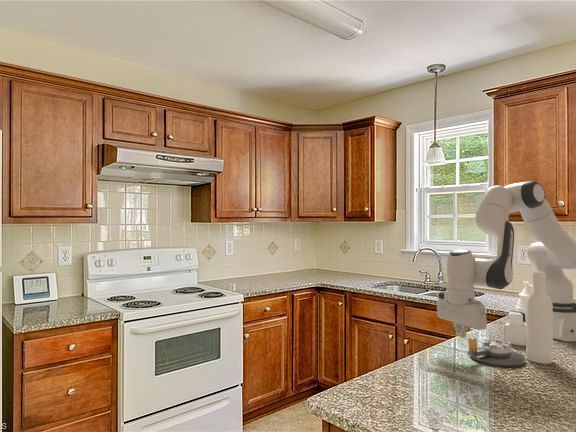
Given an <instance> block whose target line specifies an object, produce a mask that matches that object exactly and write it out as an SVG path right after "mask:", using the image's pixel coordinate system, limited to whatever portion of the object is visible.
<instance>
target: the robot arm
mask: <svg viewBox="0 0 576 432" xmlns="http://www.w3.org/2000/svg"><path fill="white" fill-rule="evenodd" d="M518 212H519V213H520V215H521V218H522V220H523V221H524V224H525V226H526V228H527V229H528V232H529V233H530V236H531V237H532V238H534V239H535V240H536V241H535V242H532V243H531V244H530V245H529V246H528V248H527V251H526V254H527V258H528V259H529V261H530V262H531V264H533V265H534V268H536V270H537V271H536V272H545V276H546V278H545V293H546V294H547V295H548V296H549V297H550V298H551V301H552V304H553V340H554V339H555V340H559V341H563V342H576V302H574V285H573V284H574V283H573V282H572V281H571V280H570V279H569V278H568V277H567V276H566V275H565V273H564V270H576V239H574V238H573V237H572V236H571V235H570V234H569V233H568V232H567V231H566V230H565V229H564V228H563V227H562V226H561V224H560V222H559V220H558V219H557V217H556V215H555V213H554V211H553V208H552V207H551V205H550V203H549V202H548V200H547V199H546V191H545V189H544V187H543V186H542V185H541V183H540V182H538V181H535V180H528V181H526V180H525V181H523V182H516V183H511V184H508V185H505V186H503V185H494V186H491V187H489V188H488V189H487V190H486V191H485V193H484V195H483V196H482V199H481V201H480V202H479V205H478V208H477V210H476V213H475V218H474V219H475V220H474V221H475V224H476V226H477V227H478V228H479V230H480V231H482V232H483V233H485V234H487V235H488V236H491V237H494V238H497V239H498V244H497V253H496V254H497V255H496V256H495V257H494V258H479V257H475V256H473V253H472V251H471V250H470V249H464V248H461V249H453V250H451V251H449V253H448V254H447V255H448V256H447V261H446V262H447V263H446V278H447V285H446V290H444V291H439V292H437V294H436V298H437V299H438V300H437V301H436V312H437V316H438V318H439V319H442V320H444V321H449V322H451V323H452V324H453V328H454V330H455V336H457V337H460V338H464V339H465V338H466V337H467V332H468V330H469V328H471V329H474V330H478V331H481V330H486V329H487V326H488V321H487V313H486V308H485V305H484V304H483V303H482V301H480V300H476V299H475V286H477V287H480V286H481V287H487V288H492V289H496V290H503V289H504V288H506V287H508V286H509V285H510V284H511V283H512V282H513V275H514V274H513V271H514V270H513V257H514V247H515V245H514V244H515V229H514V226H513V224H512V222H511V221H509V218H510V217H509V216H510V213H518ZM474 285H475V286H474Z"/></svg>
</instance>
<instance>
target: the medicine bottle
mask: <svg viewBox="0 0 576 432" xmlns="http://www.w3.org/2000/svg"><path fill="white" fill-rule="evenodd" d="M503 331H504V333H503V334H504V338H503V339H504V342H503V343H506V342H510V343H511V345H514V346H520V347H526V321H525V314H524V313H522V312H518V311H516V310H511V311H508V312H507V323H505V324H504V329H503Z"/></svg>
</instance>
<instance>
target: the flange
mask: <svg viewBox="0 0 576 432" xmlns="http://www.w3.org/2000/svg"><path fill="white" fill-rule="evenodd" d="M479 349H482V346H481V347H477V350H479ZM469 358H470V359H471V360H473V361H475V362H477V363H480V364H483V365H487V366H491V367H500V368H518V367H522V366H524V365H525V364H526V358H525V356H524V355H523V354H522V353H519V352H516V351H513V350H511V357H508V358H498V357H491V356H488V355H485V354H481V355H475V356H471V355H469Z"/></svg>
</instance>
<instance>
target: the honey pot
mask: <svg viewBox="0 0 576 432" xmlns="http://www.w3.org/2000/svg"><path fill="white" fill-rule="evenodd" d="M522 284H523V285H524V288H523V289H522V292H520V293H517V294H518V296H519V298H518V299H517V303H516V305H515V311H518V312H522V313H524V314H525V322H526V301H527V298H528V296H529V295H530V294H531V293H533V284H530V282H529V281H527V280H526V281H522Z"/></svg>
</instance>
